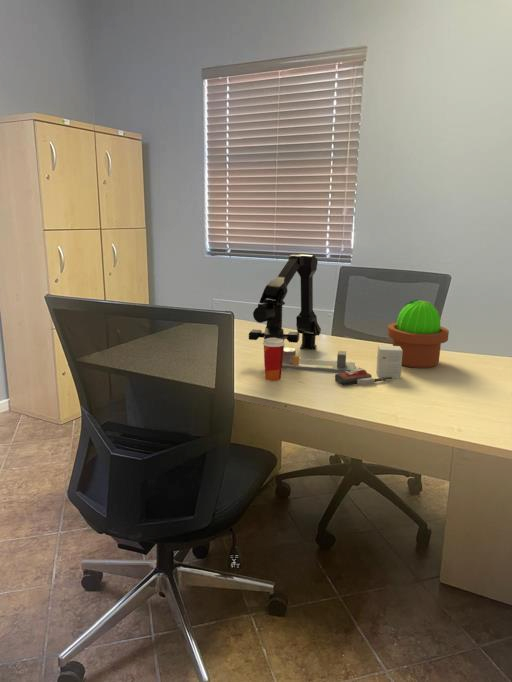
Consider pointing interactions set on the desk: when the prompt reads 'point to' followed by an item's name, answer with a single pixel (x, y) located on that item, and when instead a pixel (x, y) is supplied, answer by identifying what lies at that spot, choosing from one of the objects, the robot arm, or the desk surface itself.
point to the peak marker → (296, 360)
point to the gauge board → (323, 364)
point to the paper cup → (273, 358)
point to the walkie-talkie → (357, 378)
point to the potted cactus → (418, 334)
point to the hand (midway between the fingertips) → (273, 357)
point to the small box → (389, 361)
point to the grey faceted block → (288, 355)
